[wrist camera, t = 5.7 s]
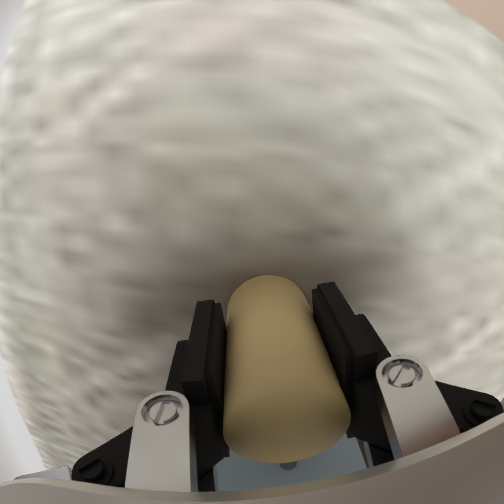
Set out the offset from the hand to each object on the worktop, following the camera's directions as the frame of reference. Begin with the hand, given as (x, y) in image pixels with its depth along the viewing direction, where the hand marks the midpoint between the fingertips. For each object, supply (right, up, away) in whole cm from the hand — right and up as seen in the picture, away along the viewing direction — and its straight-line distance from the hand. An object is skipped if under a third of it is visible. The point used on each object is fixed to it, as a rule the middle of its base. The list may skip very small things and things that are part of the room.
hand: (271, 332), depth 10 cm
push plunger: (+1, -5, +3) cm, 6 cm away
